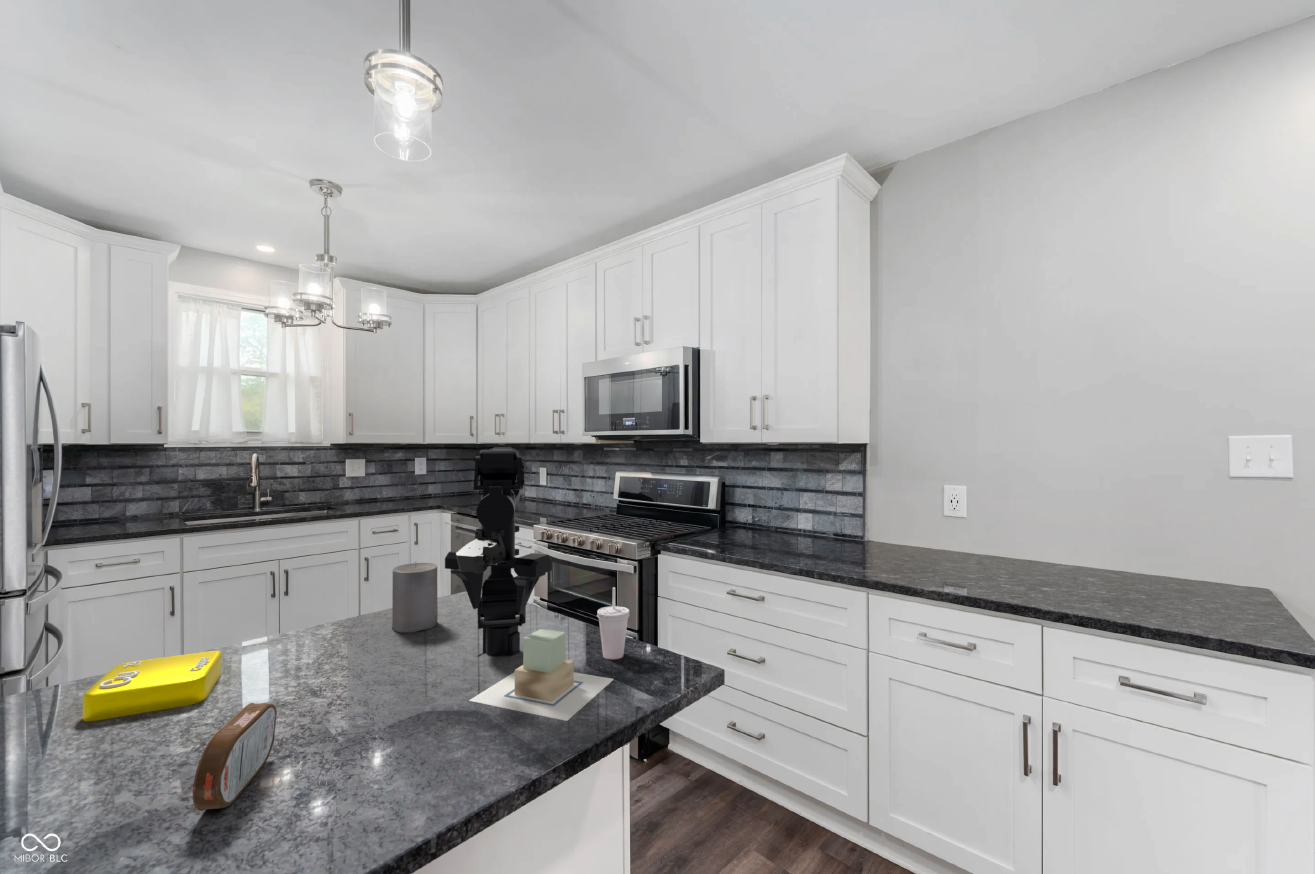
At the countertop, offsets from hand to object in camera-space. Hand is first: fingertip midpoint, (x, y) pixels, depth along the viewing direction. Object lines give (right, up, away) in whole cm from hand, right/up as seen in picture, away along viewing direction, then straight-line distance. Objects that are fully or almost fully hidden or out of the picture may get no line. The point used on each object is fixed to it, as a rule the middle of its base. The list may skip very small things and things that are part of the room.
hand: (497, 611), depth 97 cm
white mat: (+9, -13, -4) cm, 16 cm away
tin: (-23, -13, -29) cm, 39 cm away
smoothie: (+19, -13, +11) cm, 26 cm away
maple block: (+9, -12, -4) cm, 15 cm away
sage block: (+9, -8, -4) cm, 13 cm away
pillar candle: (-28, -14, +32) cm, 45 cm away
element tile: (-56, -13, -4) cm, 58 cm away
